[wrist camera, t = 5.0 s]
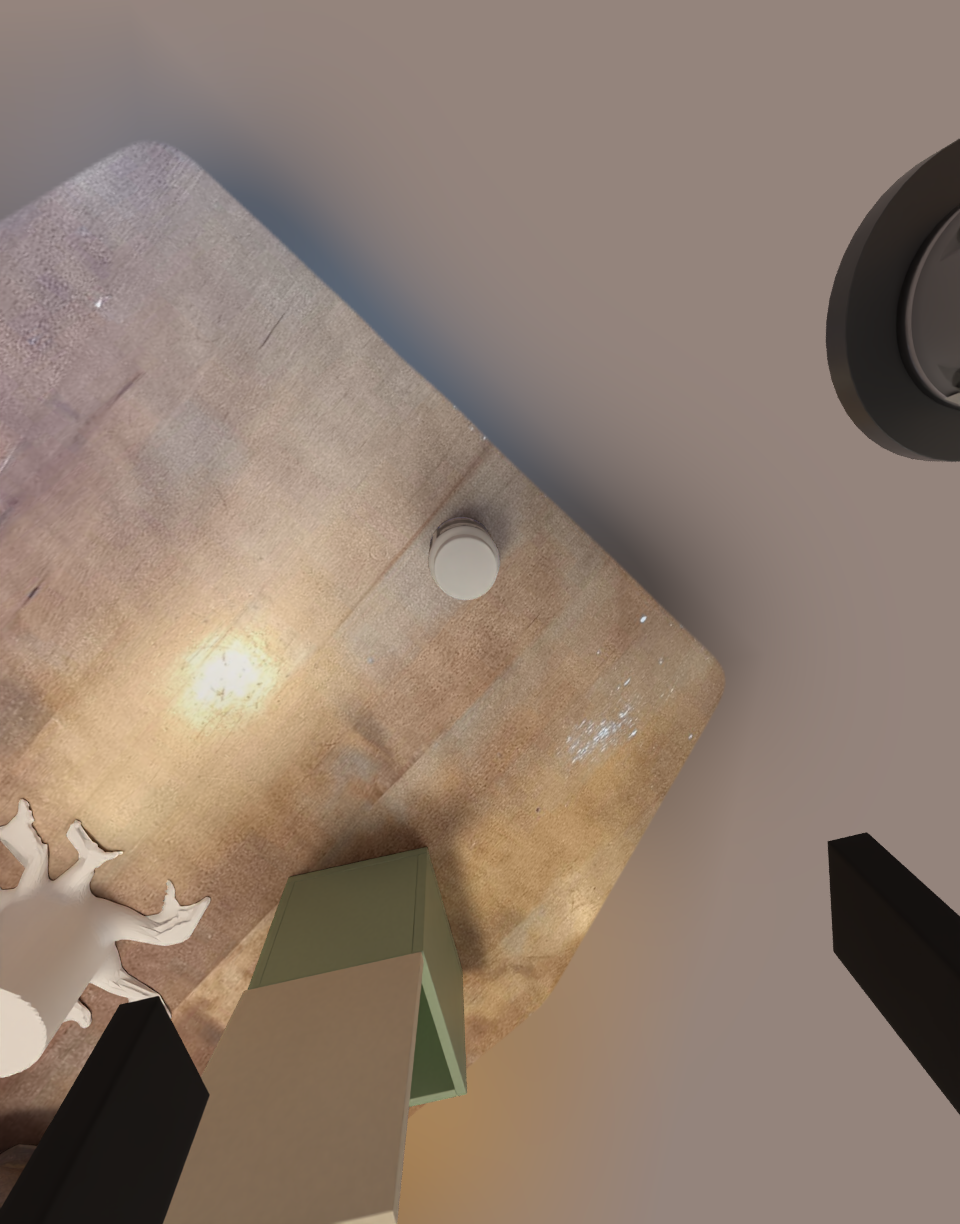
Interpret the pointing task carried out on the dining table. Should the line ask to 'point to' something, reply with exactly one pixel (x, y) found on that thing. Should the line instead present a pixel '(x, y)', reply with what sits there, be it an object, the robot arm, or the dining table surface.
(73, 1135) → the robot arm
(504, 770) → the dining table surface
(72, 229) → the dining table surface
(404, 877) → the box
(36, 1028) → the white tree stump
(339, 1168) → the lid
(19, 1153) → the pot
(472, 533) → the pill bottle
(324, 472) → the dining table surface
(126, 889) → the dining table surface
